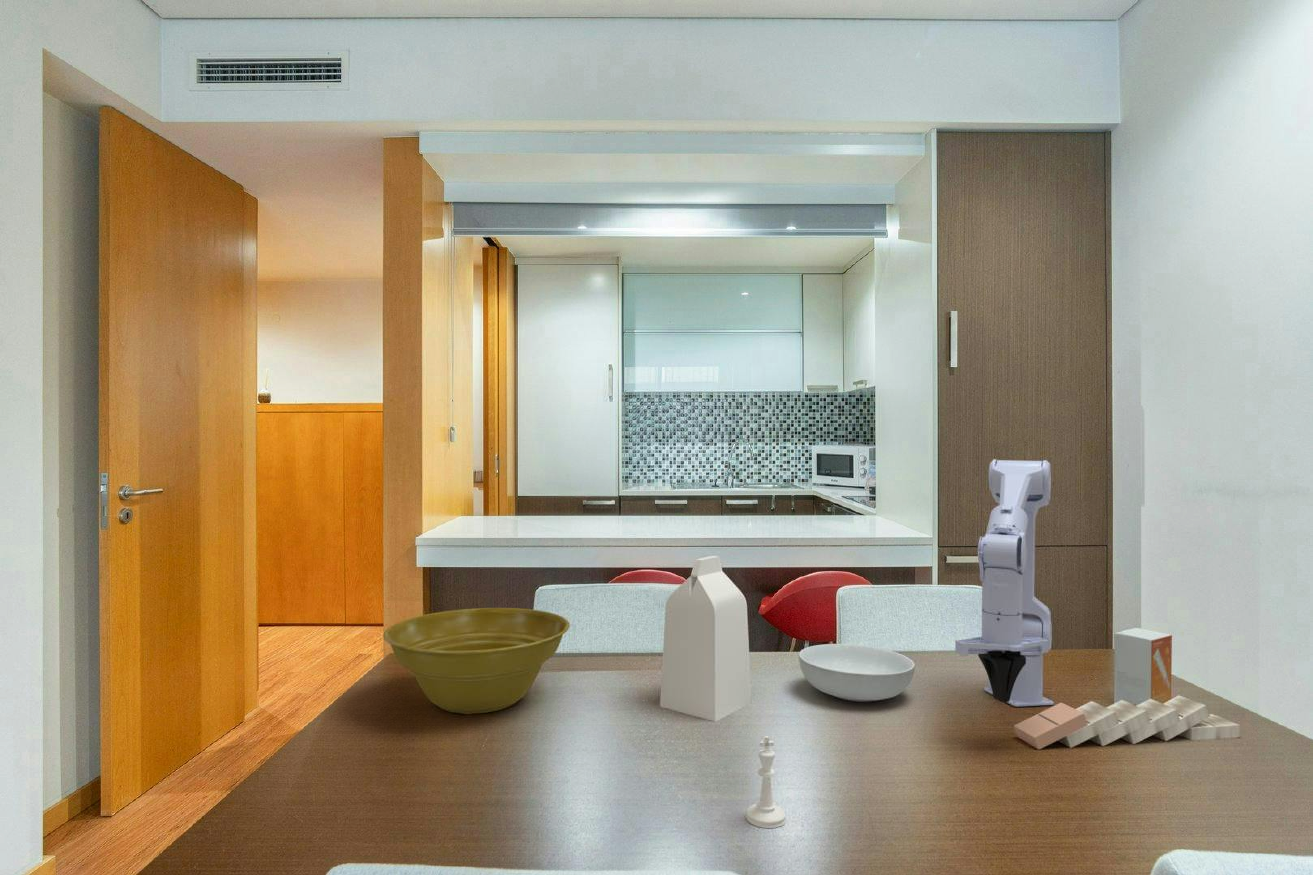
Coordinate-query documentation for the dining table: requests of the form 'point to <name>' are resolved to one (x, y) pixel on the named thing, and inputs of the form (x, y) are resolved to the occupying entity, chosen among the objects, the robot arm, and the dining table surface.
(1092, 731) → the domino
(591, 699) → the dining table surface
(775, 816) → the chess piece
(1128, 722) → the domino
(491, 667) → the planter bowl
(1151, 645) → the small box
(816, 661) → the serving bowl
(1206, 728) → the domino
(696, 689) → the milk
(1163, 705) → the domino
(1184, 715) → the domino
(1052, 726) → the head domino
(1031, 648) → the robot arm
